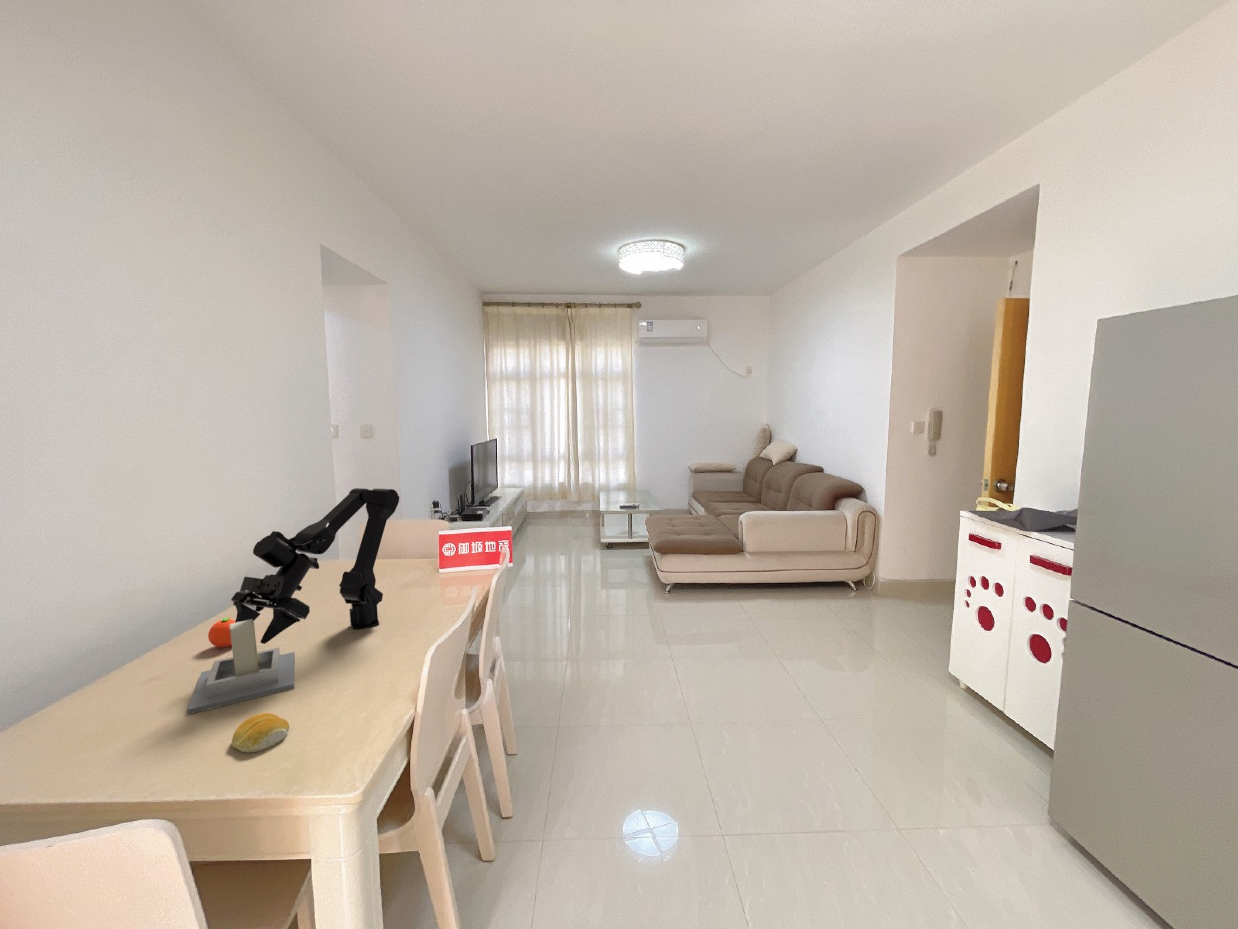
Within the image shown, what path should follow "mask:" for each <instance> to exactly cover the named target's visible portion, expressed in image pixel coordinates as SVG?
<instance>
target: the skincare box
mask: <svg viewBox="0 0 1238 929" xmlns="http://www.w3.org/2000/svg"><path fill="white" fill-rule="evenodd" d="M254 622H255V621H253V619H249V620H245V621H241V622H236V623H231V624H230V634H231V643H232V645H231V650H232V651H231V652H232V657H233V660H234V668H235V676H238V675H243V674H247V673H252V672H256V671H259V664H258V656H257V652H258V650H257V649H258V648H257V640H256V639H257V638H256V628H255V623H254Z"/></svg>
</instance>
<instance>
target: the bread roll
mask: <svg viewBox="0 0 1238 929" xmlns="http://www.w3.org/2000/svg"><path fill="white" fill-rule="evenodd" d="M289 730H290V723H289V722H288V721H287V719H285V718H281V717H280V716H278V715H276V714H274V713H271V712H265V713H259V714H256V715H253V716H251V717H248V718H247V719H245V720H244V721H242V722H241V723H240V724H239V725H238V726H237V728H236V729H235V730H234V733H233V736H232V739H231V744H232V747H233V748H234V749H235V750H238V751H240V752H242V753H248V754H250V752H251V753H256V752H261V751H264V750H266V749H269V748H271V747H273V746H275V745H276V743H277V744H279V743H281V740H282V741H283V740H284V739H285V738H286V737H287V735H288V732H289ZM270 746H271V747H270ZM263 749H264V750H263Z"/></svg>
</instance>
